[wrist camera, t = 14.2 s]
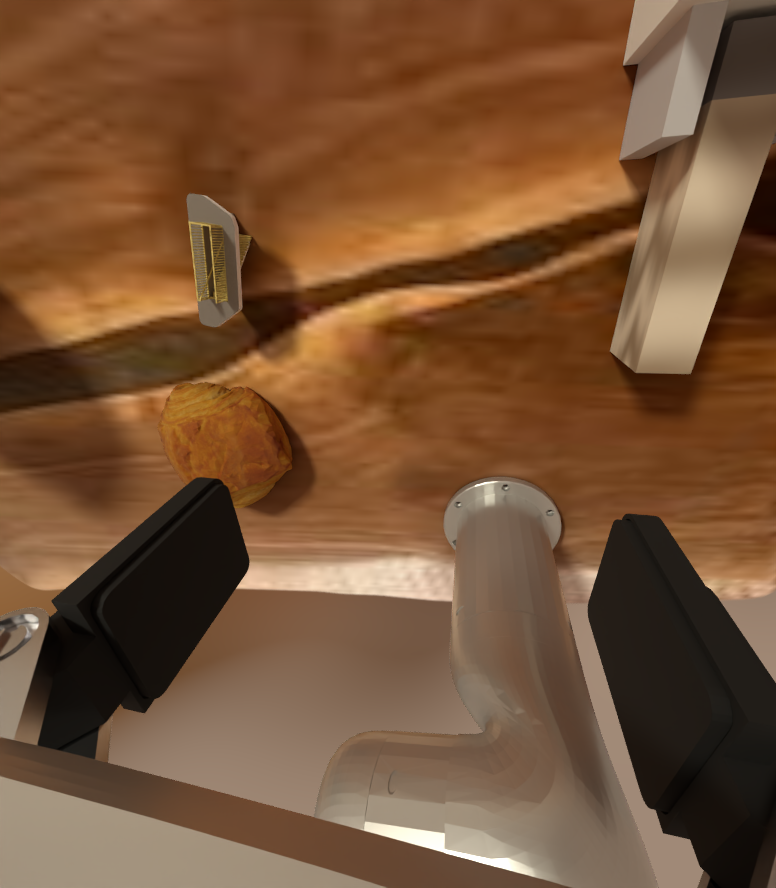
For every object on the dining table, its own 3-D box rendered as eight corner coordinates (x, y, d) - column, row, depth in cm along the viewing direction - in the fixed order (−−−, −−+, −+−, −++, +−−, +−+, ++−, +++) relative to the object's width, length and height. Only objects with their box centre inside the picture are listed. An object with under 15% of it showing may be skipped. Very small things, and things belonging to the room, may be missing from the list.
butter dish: (310, 154, 30) (273, 135, 25) (304, 368, 39) (275, 389, 34) (175, 134, 32) (110, 111, 26) (199, 346, 40) (154, 363, 35)
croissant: (223, 481, 52) (188, 526, 45) (161, 380, 43) (106, 417, 37) (318, 477, 48) (293, 525, 41) (270, 364, 39) (229, 403, 33)
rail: (655, 352, 32) (690, 374, 26) (609, 351, 32) (635, 372, 27) (742, 60, 23) (818, 9, 18) (677, 68, 24) (734, 20, 19)
